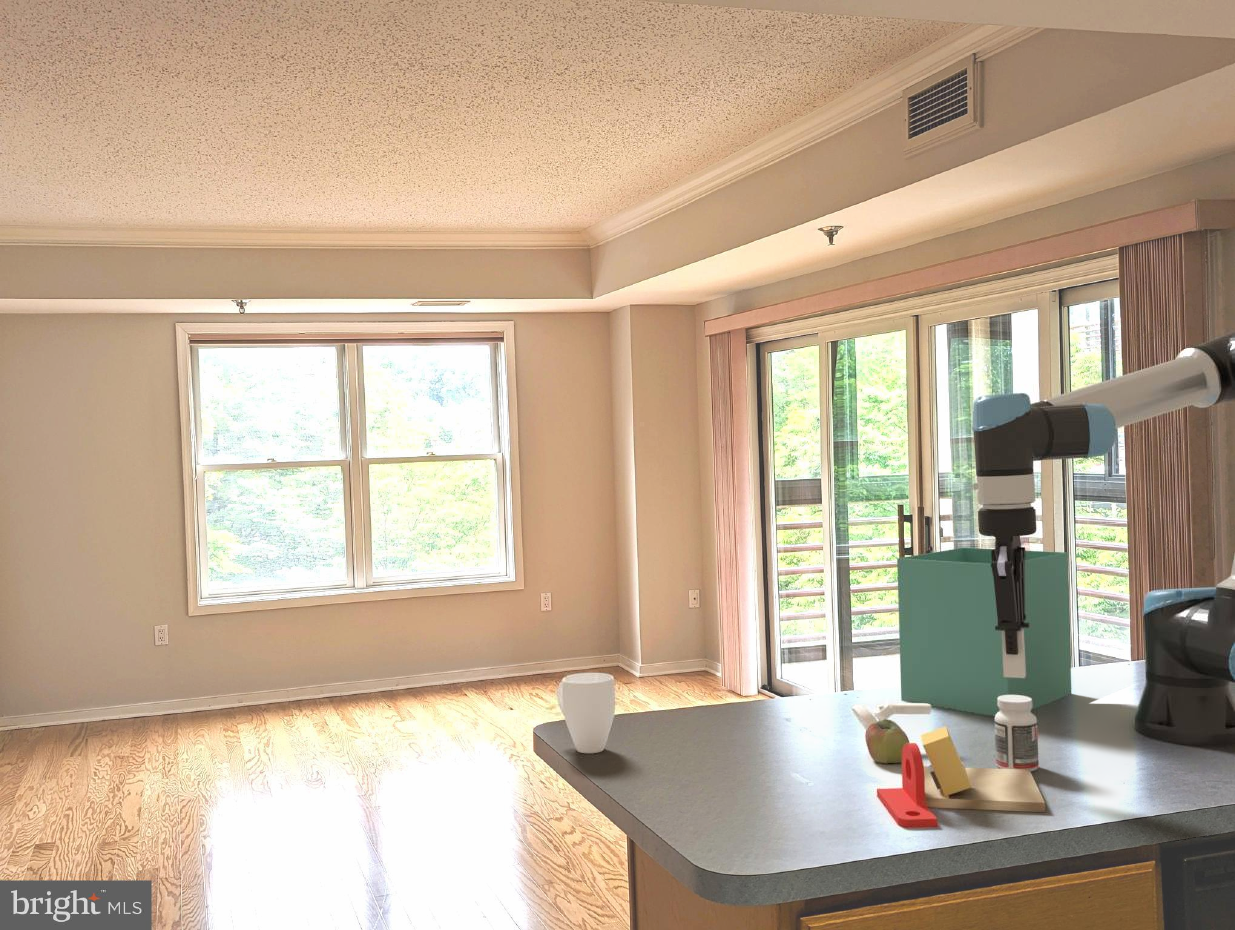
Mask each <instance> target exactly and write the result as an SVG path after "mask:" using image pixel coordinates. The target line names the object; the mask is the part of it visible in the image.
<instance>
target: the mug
mask: <svg viewBox="0 0 1235 930" xmlns="http://www.w3.org/2000/svg"><path fill="white" fill-rule="evenodd" d="M615 685H616V684H615V678H614V675H612V674H609V673H605V672H579V673H574V674H568V675H565V676H564V677H563V678H562V680H561V682H560V683H559V684H558V687H557V693H556V694H557V702H558V705H559V706H558V707H559V709H560V711H561V713H562V715H563V716H564V721H565V723H566V726H567V730H568V732H569V733H570V735H571V739H572V741H573V744H574V746H575V750H576V751H577V752H578V753H582V754H595V753H596V754H597V753H601V752H603V751H604V749H605V748H606V747H605V746H606V745H607V741H608V737H609V735H610V732H611V728H612V725H613V722H614V719H615V714H616V713H615V712H616V691H615V690H616V688H615V687H616V686H615Z"/></svg>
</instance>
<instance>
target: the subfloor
mask: <svg viewBox="0 0 1235 930" xmlns="http://www.w3.org/2000/svg"><path fill="white" fill-rule="evenodd" d="M923 766H924V778H925V801H926V805H927V807H928V808H935V809H936V808H937V809H938V808H940V809H958V810H959V809H960V810H961V809H962V810H963V809H964V810H980V811H981V810H983V811H1007V812H1008V811H1009V812H1025V813H1026V812H1029V813H1030V812H1033V813H1046V802H1045V800H1044V798H1043V796H1042V793H1041V791H1040V789H1039V787H1038V785H1037V783H1036V781H1035V779H1034V777H1033V775H1032V772H1030V770H1022V769H1000V768H990V767H989V768H985V767H966V766H964V768H965V770H966V773H967V775H968V778H969V781H970V785H971V788H968V789H965V790H962V791H959V792H956V793H953V794H950V795H948V796H945V795H944V793H943V790H942V788H941V789H937V787H936V785H935V783H934V780H933V778H932V776H931V773H930V770H929V765H923Z"/></svg>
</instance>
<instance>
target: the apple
mask: <svg viewBox="0 0 1235 930" xmlns="http://www.w3.org/2000/svg"><path fill="white" fill-rule="evenodd" d="M877 721H878V722H876V723H873V724H871V725H870V726H869V727H868V728H867V730H866V729H865V736H864V737H865V744H866V747H867V750H868V754H869V755H870V757H871V759H872V760H873V761H874V762H877V763H881V764H884V765H885V764H887V765H888V764H891V763H892V764H899V763H902V749H903V746H904V744H905V743H910V740H909V739H910V738H909V737H908V736H907V733H906V732H905V731H904V730H903V728H901V726H899V724H897V722H895V721H893V720H891V719H884V720H881V721H879V720H877Z"/></svg>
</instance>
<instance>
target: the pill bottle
mask: <svg viewBox="0 0 1235 930" xmlns="http://www.w3.org/2000/svg"><path fill="white" fill-rule="evenodd" d="M997 705H998V707H999V708H1000V711H999V712H998V713H997V714H996V715H995V717H994V738H995V739H994V741H995V743H994V744H995V763H996V766H997V767H998V769H1022V770H1030V772H1031V773H1032V772H1034V771H1036V770H1038V769H1039V765H1040V764H1039V744H1038V743H1039V742H1038V741H1039V740H1038V719H1037V717H1036V715H1035V714H1034V713H1032V710H1031V709H1032V707H1033V705H1032V699H1031V698H1030V697H1027V696H1021V695H1002V696H999V697H998V698H997Z"/></svg>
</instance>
